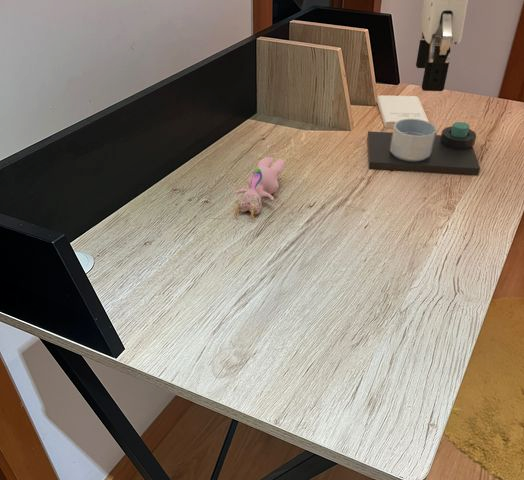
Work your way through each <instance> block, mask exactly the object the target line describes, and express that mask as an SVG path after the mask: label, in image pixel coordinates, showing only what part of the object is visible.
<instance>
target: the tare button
mask: <svg viewBox="0 0 524 480" xmlns="http://www.w3.org/2000/svg"><path fill="white" fill-rule="evenodd" d="M452 126H453V127H452ZM452 126H451V127H452V131H451V135H452V136H455V137H461V138H464V137H467V135H468V131H469V129H470V126H471V125H470V124H469V123H466V122H463V121H457V122H453V123H452Z"/></svg>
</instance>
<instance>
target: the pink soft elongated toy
mask: <svg viewBox="0 0 524 480" xmlns="http://www.w3.org/2000/svg"><path fill="white" fill-rule="evenodd" d="M274 159H275V157H272V156H264V157H263V158H261V159H260V160H259V162H258V163H257V165H256V168H255V169H254V171H253V173H252V174H251V175H250V177H248V178H247V181H246V185H247V186H248V188H241V189H237V190H235V194H236V195H239V194H241V196H240V198H239V199H238V203H237V205H236V207H235V210H234V213H233V216H235V218H236V219H237V218H238V217H239V218H240V214H239V211H240V212H241V213H246V212H249V213H250V215H249V217H248V219H251V221H252V222H253V221H255V216H254V215H258V214H260V212H261V210H262V207H263V202H262V199H263V198H269V200H270V201H271V202H274V201H275V197H274V196H273V195H272V194H274V193H276V192H277V191H278V189H279V187H280V186H279V181H278V177H279V176H280V175H281V174H282V173H283V170H284V167H285V160H284V159H282V158H280V159H277V160H275V161H274ZM273 161H274V162H273Z"/></svg>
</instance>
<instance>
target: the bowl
mask: <svg viewBox="0 0 524 480" xmlns="http://www.w3.org/2000/svg"><path fill="white" fill-rule="evenodd" d="M437 132H438V131H437V126H436V125H434V123H432V122H430V121H429V122H427V121H424V120H419V119H402V120H399V121H397V122H396V123H395V124H394V126H393V129H392V132H391V133H392V138H391V143H390V151H391V152H392V153H393V155H394V156H395V157H397V158H399V159H401V160H405V161H421V160H424V159H426V158H427V157H429V156H430V155H431V153H432V149H433V144H434V140H435V136H436V135H437Z"/></svg>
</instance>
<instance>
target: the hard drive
mask: <svg viewBox="0 0 524 480" xmlns="http://www.w3.org/2000/svg"><path fill="white" fill-rule="evenodd" d="M376 104H377V107H378V110H379V113H380V116H381V120H382V123H383V126H384V129H387V130H393V126H394V124H395V123H396V122H397V121H399V120H402V119H419V120H424V121H427V122H429V123H430V120H429V119H428V116H427V114H426V112H425V110H424V107H423V105H422V102H421V100H420V98H419V96H417V95H382V94H381V95H377V98H376Z"/></svg>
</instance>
